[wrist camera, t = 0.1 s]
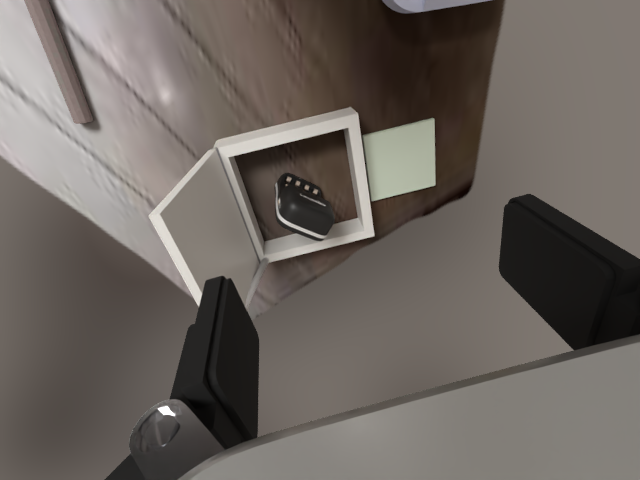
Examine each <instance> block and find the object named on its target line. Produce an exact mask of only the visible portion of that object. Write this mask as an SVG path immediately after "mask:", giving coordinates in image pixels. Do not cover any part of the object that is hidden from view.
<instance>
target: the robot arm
mask: <svg viewBox="0 0 640 480" xmlns="http://www.w3.org/2000/svg"><path fill="white" fill-rule="evenodd" d="M499 271H500V274H501V276H502V277H503V278H504V279H505V280H506V281H507V282H508V283H509V284H510V285H511V286H512V287H513V288H514V289H515V290H516V291H517V293H518V294H520V296H521V297H523V299H525V301H526V302H528V304H529V305H530V306H531V307H532V308H533V309H534V310H535V311H536V312H537V313H538V314H539V315H540V316H541V317H542V318H543V319H544V320H545V321H546V322H547V323H548V324H549V325H550V326H551V327H552V328H553V329H554V330H555V331H556V332H557V333H558V334H559V335H560V336H561V337H562V339H564V341H565V342H566V343H567V344H569V346H570V347H571V348H572V349H573V350H574V351H571V352H567V353H563V354H559V355H556V356H551V357H548V358H544V359H540V360H536V361H533V362H529V363H525V364H521V365H517V366H513V367H509V368H506V369H502V370H499V371H495V372H491V373H487V374H483V375H479V376H476V377H472V378H468V379H464V380H461V381H457V382H453V383H450V384H446V385H442V386H438V387H435V388H431V389H427V390H423V391H420V392H416V393H412V394H408V395H405V396H401V397H397V398H394V399H390V400H387V401H383V402H379V403H376V404H372V405H368V406H365V407H361V408H357V409H354V410H350V411H346V412H343V413H339V414H336V415H332V416H328V417H325V418H321V419H317V420H314V421H310V422H307V423H304V424H300V425H297V426H294V427H290V428H287V429H283V430H280V431H276V432H273V433H270V434H266V435H264V436H261V437H258V438H257V432H258V377H259V376H258V375H259V338H258V334H257V331H256V329H255V327H254V325H253V323H252V321H251V318H250V316H249V314H248V312H247V310H246V308H245V306H244V304H243V302H242V299H241V297H240V295H239V293H238V291H237V289H236V287H235V285H234V283H233V281H232V279H231V278H228V279H226V278H225V277H224V276H219V277H215V278H212V279H208V280H206V281H205V284H204V288H203V293H202V297H201V301H200V305H199V309H198V313H197V318H196V322H195V324H192V325H191V326H190V327H189V328H188V331H187V335H186V339H185V342H184V346H183V350H182V354H181V358H180V362H179V366H178V370H177V373H176V378H175V381H174V385H173V389H172V393H171V396H170V400H166V401H163V402H161V403H159V404H156V405H155V406H154V407H152V408H151V409H149V410H148V411H147V412H146V413H145V414H144V415H143V416H142V417H141V418H140V419H139V421H138V422H137V424H136V425H135V427H134V428H133V431H132V433H131V436H130V441H129V448H130V452H131V454H130V455H129V456H128V457H127V458H126V459H125V460H124V461H123V462H122V463H121V464H120V465H119V466H118V467H117V468H116V469H115V470H114V471H113V472H112V473H111V474H110V475H109V476H108V477H107V478H106V479H105V480H640V259H638V258H637V257H635V256H633V255H632V254H630V253H628V252H627V251H625V250H623V249H621V248H620V247H618V246H617V245H615V244H613V243H612V242H610V241H608V240H607V239H605V238H603V237H602V236H600V235H598V234H597V233H595V232H593V231H592V230H590V229H589V228H587V227H585V226H583V225H582V224H580V223H578V222H577V221H575V220H574V219H572V218H570V217H568V216H567V215H565V214H563V213H562V212H560V211H559V210H557V209H555V208H553V207H552V206H550V205H549V204H547V203H545V202H544V201H542V200H540V199H539V198H537V197H535V196H534V195H531V194H526V195H523V196H519V197H515V198H512V199H510V201H509V202H508V204H507V205H505V207H504V217H503V227H502V238H501V249H500V261H499Z"/></svg>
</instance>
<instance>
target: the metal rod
mask: <svg viewBox="0 0 640 480" xmlns="http://www.w3.org/2000/svg"><path fill="white" fill-rule="evenodd" d="M24 1H25V3H26V6H27V8H28V11H29V13H30V16H31V18H32V20H33V23H34V25H35V28H36V30H37V33H38V35H39V38H40V40H41V42H42V45H43V47H44V50H45V52H46V55H47V57H48V60H49V62H50V64H51V67H52V69H53V72H54V74H55V77H56V79H57V82H58V84H59V87H60V89H61V91H62V94H63V96H64V99H65V101H66V104H67V106H68V109H69V111H70V113H71V116H72V118H73V121H74V123H76V124H81V123H88V122H92V121H94V120H93V118H92V115H91V112H90V110H89V107H88V104H87V102H86V99H85V96H84V94H83V91H82V88H81V86H80V83H79V80H78V78H77V75H76V73H75V70H74V67H73V65H72V62H71V59H70V57H69V54H68V51H67V49H66V46H65V43H64V41H63V38H62V35H61V33H60V30H59V28H58V25H57V22H56V20H55V17H54V14H53V12H52V9H51V6H50V4H49V1H48V0H24Z"/></svg>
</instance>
